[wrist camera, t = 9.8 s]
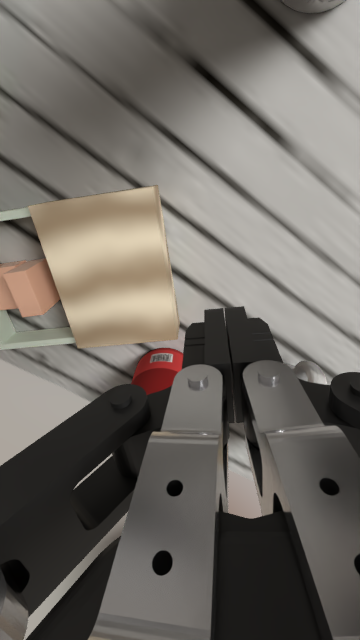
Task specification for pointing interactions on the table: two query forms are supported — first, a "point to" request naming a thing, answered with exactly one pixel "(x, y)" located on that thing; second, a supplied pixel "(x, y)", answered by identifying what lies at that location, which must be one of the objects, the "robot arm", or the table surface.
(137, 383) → the canned food
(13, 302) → the tile back
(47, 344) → the tray
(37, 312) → the tile front
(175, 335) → the plate
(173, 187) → the table surface
